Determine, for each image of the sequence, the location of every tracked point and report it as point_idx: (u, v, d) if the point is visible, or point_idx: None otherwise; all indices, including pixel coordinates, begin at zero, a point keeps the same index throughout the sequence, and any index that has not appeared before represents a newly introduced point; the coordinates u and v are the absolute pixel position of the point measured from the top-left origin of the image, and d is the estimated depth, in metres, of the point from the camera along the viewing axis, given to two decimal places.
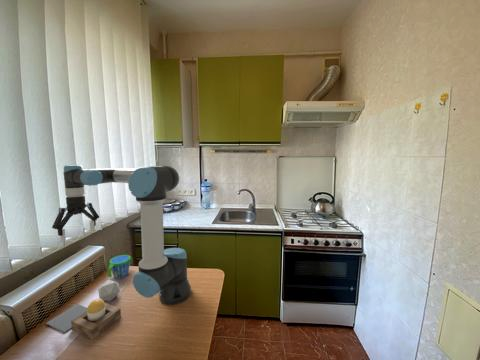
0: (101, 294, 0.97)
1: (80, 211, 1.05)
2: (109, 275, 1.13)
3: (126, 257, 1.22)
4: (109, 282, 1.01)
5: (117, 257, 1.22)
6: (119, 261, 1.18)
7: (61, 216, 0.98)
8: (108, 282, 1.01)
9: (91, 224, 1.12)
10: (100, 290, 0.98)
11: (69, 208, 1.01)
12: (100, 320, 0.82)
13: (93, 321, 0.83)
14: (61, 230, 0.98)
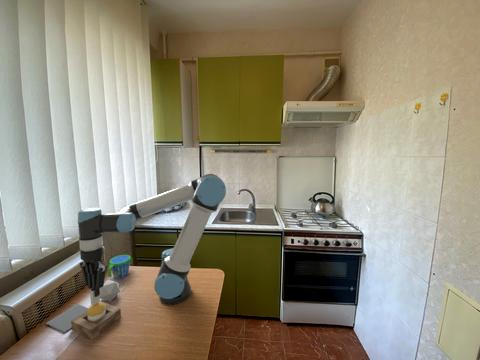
0: (101, 294, 0.97)
1: None
2: (109, 275, 1.13)
3: (126, 257, 1.22)
4: (109, 282, 1.01)
5: (117, 257, 1.22)
6: (119, 261, 1.18)
7: (83, 272, 0.84)
8: (108, 282, 1.01)
9: None
10: (100, 290, 0.98)
11: (84, 261, 0.83)
12: (100, 320, 0.82)
13: None
14: None
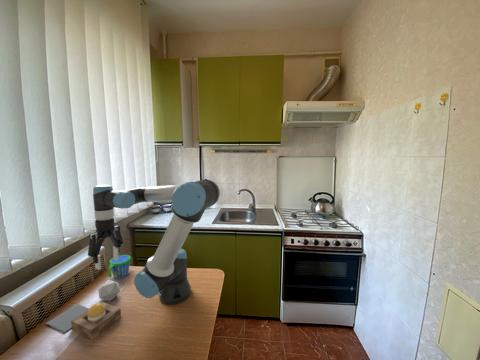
0: (101, 294, 0.97)
1: (109, 234, 0.99)
2: (109, 275, 1.13)
3: (126, 257, 1.22)
4: (109, 282, 1.01)
5: None
6: (119, 261, 1.18)
7: (94, 243, 0.92)
8: (108, 282, 1.01)
9: (115, 251, 1.03)
10: (100, 290, 0.98)
11: (99, 232, 0.94)
12: (100, 320, 0.82)
13: None
14: (97, 257, 0.94)
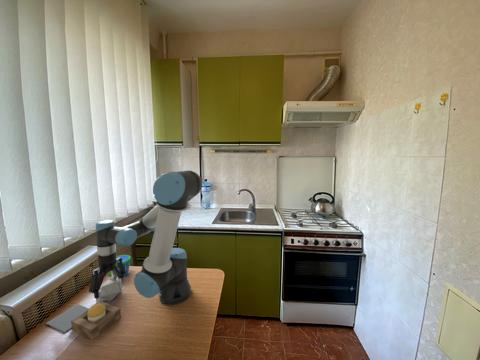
0: (101, 294, 0.97)
1: (111, 268, 1.00)
2: (109, 275, 1.13)
3: (126, 257, 1.22)
4: (109, 282, 1.01)
5: None
6: None
7: (96, 279, 0.93)
8: (108, 282, 1.01)
9: (118, 282, 1.05)
10: None
11: (101, 268, 0.96)
12: (100, 320, 0.82)
13: None
14: (97, 293, 0.95)
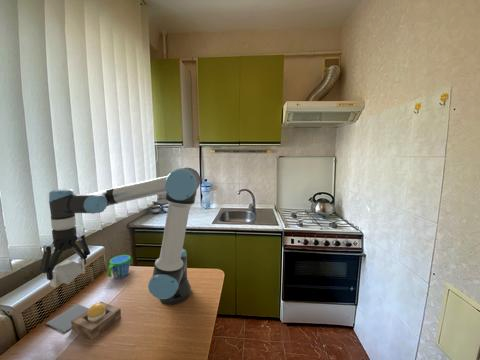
0: (56, 275, 0.82)
1: (70, 246, 0.86)
2: (109, 275, 1.13)
3: (126, 257, 1.22)
4: (67, 262, 0.86)
5: (117, 257, 1.22)
6: (119, 261, 1.18)
7: (48, 256, 0.79)
8: (66, 262, 0.86)
9: (80, 263, 0.91)
10: (56, 271, 0.84)
11: (56, 244, 0.81)
12: (100, 320, 0.82)
13: None
14: (51, 273, 0.80)
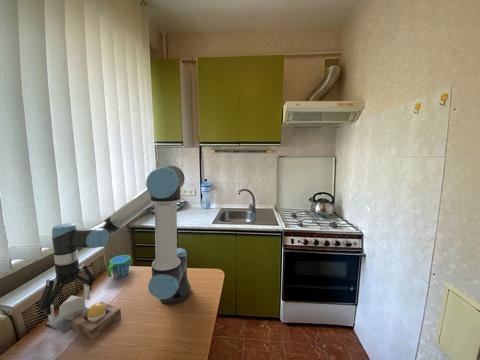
0: (62, 313, 0.84)
1: (73, 279, 0.87)
2: (109, 275, 1.13)
3: (126, 257, 1.22)
4: (72, 298, 0.88)
5: (117, 257, 1.22)
6: (119, 261, 1.18)
7: (49, 291, 0.80)
8: (71, 298, 0.88)
9: (86, 290, 0.94)
10: (61, 308, 0.85)
11: (59, 279, 0.83)
12: (100, 320, 0.82)
13: None
14: (49, 308, 0.80)
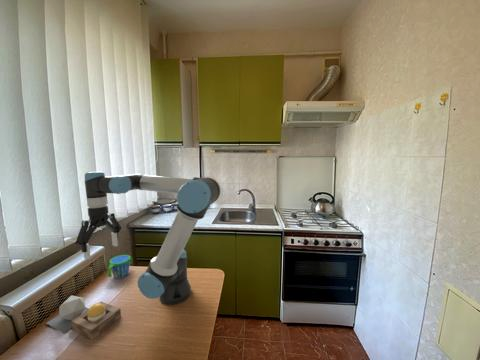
0: (62, 313, 0.84)
1: (103, 223, 0.95)
2: (109, 275, 1.13)
3: (126, 257, 1.22)
4: (72, 298, 0.88)
5: (117, 257, 1.22)
6: (119, 261, 1.18)
7: (85, 230, 0.87)
8: (71, 298, 0.88)
9: (114, 237, 1.01)
10: (61, 308, 0.85)
11: (92, 220, 0.90)
12: (100, 320, 0.82)
13: None
14: (85, 246, 0.87)
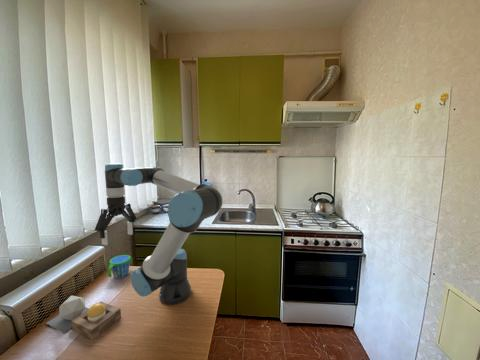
0: (62, 313, 0.84)
1: (120, 212, 1.00)
2: (109, 275, 1.13)
3: (126, 257, 1.22)
4: (72, 298, 0.88)
5: (117, 257, 1.22)
6: (119, 261, 1.18)
7: (104, 218, 0.93)
8: (71, 298, 0.88)
9: (129, 226, 1.06)
10: (61, 308, 0.85)
11: (111, 209, 0.96)
12: (100, 320, 0.82)
13: None
14: (103, 232, 0.93)
